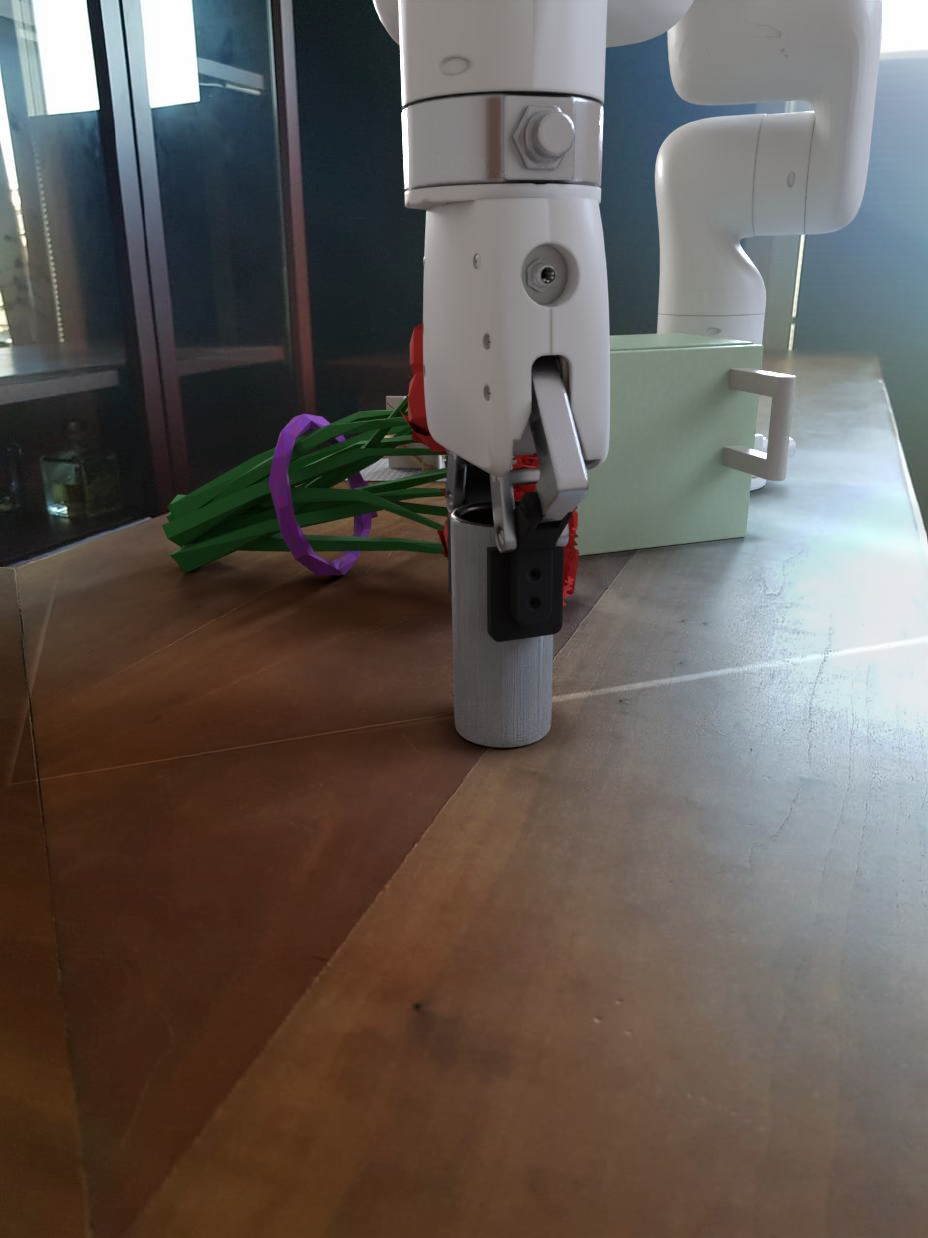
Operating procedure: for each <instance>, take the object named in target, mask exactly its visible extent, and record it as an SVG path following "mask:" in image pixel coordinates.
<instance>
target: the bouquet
mask: <svg viewBox="0 0 928 1238" xmlns="http://www.w3.org/2000/svg"><path fill="white" fill-rule="evenodd" d="M409 366H410V369H411V373H412V375H413V377H411V376H410V375H409V374H407V376H408V377H409V378H410V379H411V380H410V382H409V386H408V394H407V395H405V396H406V397H405V399H404V400H403V401H402V402H401V403H400V404H399V405H398V407H397V408H396V409H393V410H386V409H377V410H360V411H357V412H355V413H352V414H350V415H347V416H345V417H343V418H340V419H337V420H336V421H333V422H331V423H330V422H329V421H328V420H327V419H326V418H324V417H323V416H320V415H314V414H307V413H302V414H299V415H296V416H294V417H292V418H291V420H290V421H289V422H288V423H287V424H286V425H285V426H284V427H283V429H282V430H281V431H280V432H279V435H278V439H277V443H276V446H275V447H273V448H271V449H269V450H266V451H264V452H262V453H258V454H257V455H255V456H252V457H251V458H249V459H248V460H247V459H246V460H245V461H244V462H242V463H241V464H239V465H237V466H235V467H233V468H232V469H230V470H228V471H226V472H224V473H223V474H221V475H220V476H218V477H216V478H214V479H213V480H211V481H209V482H207V483H206V484H204V485H202V486H200V487H199V488H197V489H195V490H194V491H191V492H190V493H188V494H176V495H175V497H174V498H173V499H172V501H170V503H169V505H167V506H166V508H167V509H168V511H169V513H168V514H167V515H166V519H167V521H168V522H166V523H164V524H162V525H161V527H162V529H163V532H164V534H165V537H166V539H167V540H169V541H170V542H171V543H173V544H175V545H177V546H178V548H177V549H176V550H175V551H173V552H172V553H171V554H169V556H170V557H171V558H172V559H173V561H174V562H175V563H176V564H177V566H179V567H180V569H182V571H184V573H190V572H192V571H194V570H197V569H199V568H201V567H203V566H205V565H208V564H210V563H212V562H215V561H217V560H220V559H222V558H225V557H226V556H228V555H231V554H233V553H235V552H243V551H244V552H275V553H276V552H278V553H279V552H280V553H284V552H285V553H291V555H292V557H293V558H294V559H295V561H297V562H299V564H301V565H302V566H304V568H307V569H308V570H309V571H311V572H312V573H314V574H315V575H316V576H345V575H346V574H347V573H348V572H349V571H350V569H351V568H352V567H353V566H354V565H355V563H356V562H357V561H358V560H359V557H360V556H361V554H362V552H394V551H395V552H397V551H398V552H400V551H405V552H414V553H425V554H435V555H442V556H443V557H444V558H446V559H447V560H448V533H447V519H446V520H445V521H444V525H443V524H440V523H439V522H437V521H434V520H432V519H430V518H428V517H426V516H423V515H429V516H437V517H446V518H447V516H450V515H451V514H450V513H449V512H448V510H447V506H440V505H431V504H424V503H416V502H408V501H407V500H413V499H424V498H439V497H444V498H445V499H446V487H445V488H444V487H443V488H442V487H419V486H422V485H426V484H430V483H433V482H438V481H437V480H440V479H444V478H447V468H442V469H438V470H433V471H429V472H425V473H421V474H417V475H412V476H408V477H404V478H400V479H395V480H391V481H381V482H378V483H372V484H369V483H368V481H364V479H363V477H362V475H361V473H360V471H361V470H363V469H365V468H367V467H369V466H370V465H372V464H374V463H376V462H377V461H379V460H380V459H384V457H389V456H418V455H442V456H445V455H447V452H446V449H445V448H444V447H443V446H441V445H440V444H439V443H437V442H436V441H435V440H434V439H433V437H432V436H431V434H430V432H429V429H428V424H427V417H426V407H425V392H424V370H423V322H421V323H420V324H418V325H417V326H415V327H413V331H412V334H411V337H410V341H409ZM407 408H408V409H407ZM306 432H308V433H306ZM304 433H306V434H304ZM357 433H358V435H354V436H352V437H350V438H347V439H346V437H345V436H347V435H352V434H357ZM359 433H361V434H359ZM389 434H396V435H395V436H393V437H389V438H384V437H385V436H386V435H389ZM326 443H327V444H329V445H328V446H326V447H323V448H321V449H317V450H315V451H313V452H311V451H312V450H314V449H316V448H318V447H320V446H322V445H324V444H326ZM410 443H422V444H424V445H426V446H428V447H429V448H396V447H397V446H399V445H405V444H410ZM309 452H310V453H309ZM513 458H515V459H517V463H516V464H514V465H513V467H512V470H517V469H529V468H540V467H539V462H538V457H537V453H534V454H531V455H518V456H514V457H513ZM345 479H348V480H347V481H348V484H349V487H350V488H334V486H336V485H338V484H340V483H342V482H343V481H346V480H345ZM535 489H536V484H527V485H516V486H513V491H514V501H521V499H522V497H523V495H524V494H525V493H526V492H534V491H535ZM406 501H407V502H406ZM576 509H578V508H577V506H576V508H575V509H574V511H573V513H572V516H571V519H570V520H569V522H568V525H569V540H568V543H567V545H566V546H564V579H563V607H566V606H567V602H565V601H564V599H566V598H568V597H571V596H573V595H574V593H575V589H576V587H575V586H576V581H577V572H578V565H579V557H580V556H579V551H578V549H575V547H574V546H577V545H578V544H577V543H576V542H575V538H577V537H578V535H577V534H576V530H577V527H578V513H577V512H576ZM382 511H386V512H388V513H391V514H394V515H397V516H400V517H402V518H405V519H408V520H411V521H413V522H416V523H418V524H421V525H424V526H426V527H428V528H431V529H434V530H436V532H437V535H438V537H439V540H440V542H437V541H436V542H435V541H428V540H420V539H413V538H404V537H384V536H383V537H381V536H380V537H379V536H378V537H377V536H369V534H370V532H371V529H372V519H374V518H378V517H379V515H378V512H382ZM421 514H422V515H421ZM348 518H349V519H350V518H353V534H352V535H328V534H306V533H304V531H303V528H307V527H311V526H315V525H316V526H317V525H322V524H326V523H330V522H331V523H332V522H336V521H339V520H345V519H348ZM315 552H316V553H317V552H319V553H320V552H321V553H323V552H342V554H341V556H340V557H338V558H336V559H333V560H331V561H329V560H327V559H325V558H323V557H320V556H318V555H317V554H316V553H315Z"/></svg>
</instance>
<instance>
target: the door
mask: <svg viewBox="0 0 928 1238" xmlns="http://www.w3.org/2000/svg"><path fill="white" fill-rule="evenodd" d="M764 347H765V346H764V344H762V345H756V344H755V345H734V346H712V347H691V348H670V349H648V350H627V351H610V435H609V450H608V455H607V457H606V459H605V461H604V462H603V463H602V464H601V465H600V466H599V467H598V468H596V469H590V470H586V471H587V475H588V480H589V489H588V493H587V495H586V496H585V497H584V498H583V500H582V501H581V502H580V503H579V504H578V505H577V508H578V509H576V512H577V513H578V527H577V530H576V534H577V535H578V537H577V538H575V542H576V543H577V544H578V545H577V546H574V547H575V549H578V551H579V557H580V556H588V555H597V554H607V553H615V552H625V551H632V550H641V549H650V548H657V547H668V546H675V545H684V544H695V543H701V542H710V541H718V540H719V541H720V540H728V539H737V538H744V537H745V538H746V537H747V528H748V519H749V517H748V516H749V507H750V497H751V491H750V487H751V476H752V475H753V476H756V477H759V478H762V479H765V480H766V481H770V482H783V481H785V480H786V478H787V468H788V459H789V458H788V450H789V440H790V438H791V429H792V420H793V411H794V410H793V409H794V402H795V392H796V385H797V384H796V383H797V376H796V375H792V374H787V373H782V372H781V373H780V372H775V371H769V370H762V369H763V367H762V366H763V359H764V358H763V357H764V349H765V348H764ZM760 396H764V397H770V398H771V406H770V416H769V427H768V436H767V440H768V445H767V453H764V452H761V451H757V450H754V444H755V434H757V433H756V432H757V422H758V421H757V420H758V412H759V400H760Z"/></svg>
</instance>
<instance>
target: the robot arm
mask: <svg viewBox="0 0 928 1238" xmlns="http://www.w3.org/2000/svg"><path fill="white" fill-rule="evenodd" d="M372 3H373V6H374V8H375V11H376V13H377V16H378V18H379V20H380V22H381V24H382V25H383V27H384V28H385V30H386V32H387V33H388V35H389V37H390V38H391V39H392V40H393V41H394V42H395V43H396V44H397V45H398V46H399V51H400V52H399V55H400V56H399V57H400V58H399V59H400V60H399V61H400V85H401V86H400V87H401V110H402V112H401V131H402V132H401V133H402V134H401V135H402V155H403V156H402V160H403V161H402V162H403V163H402V165H403V190H404V207H405V208H406V209H412V210H424V211H426V212H425V228H424V229H425V232H424V255H423V260H422V264H423V288H422V289H423V290H422V291H423V295H422V297H423V298H422V300H423V301H422V323H423V370H424V392H425V407H426V417H427V424H428V429H429V432H430V434H431V436H432V437H433V439H434V440H435V441H436V442H437V443H439V444H440V445H441V446H443V447H444V448H445V449H446V452H447V455H444V459H446V461H444V464H445V467H446V468H447V480H446V481H445V482H446V484H445V489H446V498H445V505H446V506H445V507H447V510H448V512H449V513H450V514H451V513H452V511H453V510H454V509H456V508H458V507H460V506H463V505H466V504H470V503H475V502H482V501H492V508H493V519H494V531H495V540H496V545H497V546H495V547H487V631H488V634H489V636H490V637H491V638H492V639H493V640H495V641H497V642H504V641H511V640H518V639H525V638H532V637H539V636H547V635H553V636H554V635H557V634H558V633H560V632H561V630H562V628H563V622H564V621H563V618H564V616H563V615H564V612H563V611H564V606H563V601H564V599H563V579H564V546H566V545H567V543H568V540H569V525H568V522H569V520H570V519H571V516H572V513H573V511H574V509H575V508H576V506H577V505H578V504H579V503H580V502H581V501H582V500H583V498H584V497H585V496H586V495H587V493H588V489H589V480H588V475H587V471H586V470H590V469H596V468H598V467H599V466H600V465H601V464H602V463H603V462H604V461H605V459H606V457H607V455H608V450H609V435H610V336H611V335H610V334H611V333H610V303H609V286H608V285H609V284H608V283H609V282H608V269H607V257H606V250H605V249H606V248H605V237H604V229H603V223H602V215H601V210H600V204H601V203H602V188H601V187H602V174H603V173H602V172H603V171H602V170H603V139H604V137H603V136H604V109H605V108H604V104H605V85H606V82H605V81H606V55H607V53H606V51H607V48H615V47H624V46H630V45H634V44H638V43H642V42H646V41H649V40H652V39H654V38H656V37H659V36H661V35H663V34H665V33H666V37H667V55H668V65H669V73H670V79H671V83H672V86H673V88H674V91H675V92H676V94H677V95H678V96H679V98H680V99H682V100H683V101H685V102H687V103H688V104H693V105H697V106H734V105H737V106H738V105H751V104H763V103H778V102H780V103H781V102H795V101H796V102H797V101H803V102H805V103H807V104H808V105H809V106H810V108H811V109H812V110H811V111H810V110H809V111H793V112H783V113H781V112H779V113H750V114H735V115H723V116H721V115H720V116H712V117H706V118H700V119H698V120H694V121H690V122H687V123H686V124H683V125H681V126H679V127H678V128H677V127H676V129H674V130H673V131H672V132H671V133H669V134H668V135H667V137H666V138H665V139H664V140H663V142H662V144H661V145H660V147H659V149H658V152H657V155H656V160H655V165H654V166H655V168H654V191H655V201H656V213H657V223H658V239H659V281H658V282H659V285H658V286H659V287H658V289H659V290H658V305H657V323H656V325H657V326H656V327H657V328H656V334H662V333H682V334H690V335H698V336H707V337H715V338H724V339H732V340H740V341H749V342H753V343H754V344H753V345H755V344H756V345H763V339H764V338H763V337H764V328H765V317H766V307H767V291H766V290H767V289H766V285H765V281H764V279H763V277H762V275H761V273H760V271H759V269H758V268H757V266H756V264H755V263H754V262H753V261H752V259H751V258H750V256H748V254H747V253H746V252H745V250H744V249H743V247H742V245H741V240H743V239H745V238H746V239H747V238H757V237H764V236H768V237H769V236H771V237H772V236H806V235H808V236H809V235H823V234H830V233H831V234H832V233H834V232H838V231H841V230H843V229H844V228H845V227H848V226H849V224H851V223H852V222H853V221H854V219H855V218H856V216H857V215H858V213H859V210H860V208H861V206H862V202H863V200H864V199H863V198H864V194H865V191H866V190H865V189H866V186H867V179H868V171H869V162H870V154H871V145H872V134H873V125H874V115H875V108H876V107H875V106H876V96H877V87H878V78H879V68H880V59H881V49H882V37H883V36H882V35H883V24H884V23H883V22H884V0H372ZM767 445H768V438H766V437H765V435H763V434H759V433H756V434H755V444H754V450H757V451H761V452H764V453H767ZM796 452H797V443H796V441H795V439H793V437H790V440H789V450H788V459H789V458H790V459H791V458H793V457H794V456H795V455H796ZM534 453H537V457H538V462H539V467H540V468H529V469H517V470H512V467H513V465H514V464H516V463H517V459H515V458H513V457H514V456H518V455H531V454H534ZM527 484H536V489H535V491H534V492H526V493H525V494H524V495H523V497H522V499H521V501H520V503H519V505H518V507H517V509H516V511H515V503H514V491H513V486H516V485H527ZM766 484H767V480H765V479H762V478H759V477H756V476H753V475H752V476H751V487H750V492H753V491H754V492H755V491H757V490H759V489H761V488H763V487H765V486H766ZM446 520H447V533H448V559H447V565H448V567H447V570H448V571H447V573H448V576H447V577H448V595H450V597H451V598H452V578H451V527H450V516H447V517H446Z"/></svg>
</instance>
